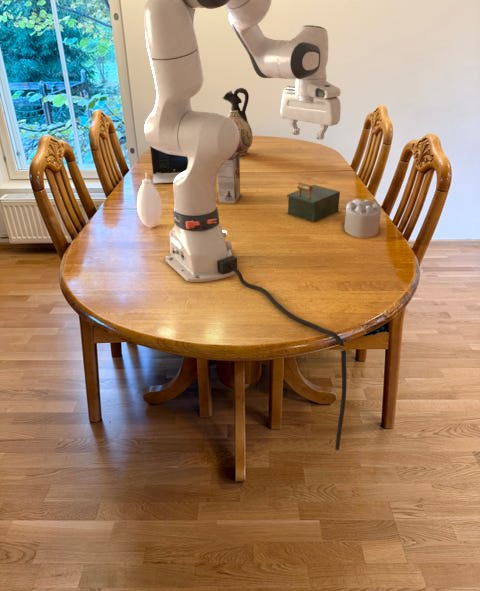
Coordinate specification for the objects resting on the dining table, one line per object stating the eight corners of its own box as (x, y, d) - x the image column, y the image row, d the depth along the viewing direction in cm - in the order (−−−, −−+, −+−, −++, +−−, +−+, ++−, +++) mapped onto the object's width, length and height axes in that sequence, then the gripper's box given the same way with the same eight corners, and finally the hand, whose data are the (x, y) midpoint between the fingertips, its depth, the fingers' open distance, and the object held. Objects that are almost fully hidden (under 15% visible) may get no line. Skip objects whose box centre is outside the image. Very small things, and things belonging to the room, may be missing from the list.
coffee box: (223, 194, 184) (222, 151, 176) (240, 195, 183) (240, 152, 175) (218, 202, 177) (216, 158, 169) (235, 203, 176) (234, 158, 167)
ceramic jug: (216, 157, 232) (213, 89, 217) (226, 149, 245) (224, 84, 230) (250, 159, 228) (250, 90, 212) (259, 151, 240) (259, 85, 225)
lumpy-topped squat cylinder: (376, 222, 158) (379, 196, 154) (379, 238, 147) (383, 211, 143) (343, 221, 160) (346, 195, 155) (344, 237, 149) (347, 209, 144)
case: (313, 222, 159) (315, 203, 156) (287, 213, 166) (288, 196, 163) (338, 211, 168) (339, 193, 164) (312, 203, 174) (313, 186, 171)
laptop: (152, 184, 196) (149, 151, 189) (153, 175, 207) (149, 144, 200) (197, 182, 198) (195, 149, 191) (195, 173, 209) (193, 142, 202)
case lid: (313, 204, 156) (314, 189, 153) (286, 196, 162) (287, 182, 160) (339, 193, 164) (341, 179, 162) (313, 186, 171) (314, 172, 169)
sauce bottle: (140, 232, 154) (133, 176, 145) (138, 223, 160) (131, 169, 151) (165, 229, 155) (160, 173, 146) (162, 220, 162) (157, 166, 153)
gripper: (276, 86, 148) (275, 133, 155) (332, 92, 135) (328, 143, 142) (290, 84, 152) (288, 130, 159) (345, 90, 139) (341, 140, 146)
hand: (307, 136), depth 150 cm, fingers open, 8 cm apart
